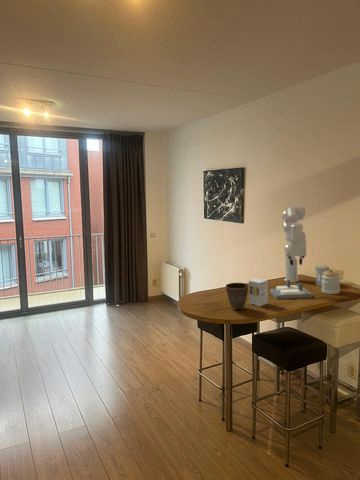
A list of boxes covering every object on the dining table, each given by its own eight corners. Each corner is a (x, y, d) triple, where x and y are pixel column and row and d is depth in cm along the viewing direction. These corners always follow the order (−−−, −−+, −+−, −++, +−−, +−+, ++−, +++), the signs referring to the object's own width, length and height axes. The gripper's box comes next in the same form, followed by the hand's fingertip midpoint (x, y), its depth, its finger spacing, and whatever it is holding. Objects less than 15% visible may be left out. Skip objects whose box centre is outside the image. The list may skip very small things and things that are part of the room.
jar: (323, 288, 277) (323, 266, 275) (341, 290, 270) (342, 268, 268) (319, 293, 267) (319, 269, 265) (337, 295, 259) (338, 271, 257)
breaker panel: (269, 292, 275) (269, 286, 274) (303, 290, 275) (303, 284, 275) (276, 298, 257) (276, 292, 256) (312, 297, 257) (312, 290, 257)
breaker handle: (297, 289, 263) (297, 282, 262) (300, 289, 263) (300, 282, 262) (299, 290, 259) (299, 283, 258) (302, 290, 259) (302, 283, 258)
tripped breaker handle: (286, 285, 272) (286, 279, 272) (288, 285, 272) (288, 279, 272) (287, 287, 268) (287, 280, 268) (290, 287, 268) (290, 280, 268)
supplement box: (248, 304, 249) (248, 280, 246) (256, 300, 255) (256, 277, 252) (260, 306, 241) (259, 282, 239) (268, 303, 247) (268, 280, 245)
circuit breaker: (336, 285, 284) (337, 267, 282) (318, 286, 285) (318, 267, 283) (333, 283, 292) (333, 265, 290) (315, 283, 292) (315, 265, 290)
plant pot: (233, 313, 230) (233, 289, 228) (222, 307, 244) (221, 284, 242) (253, 309, 236) (252, 286, 234) (240, 303, 250) (240, 281, 247)
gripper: (305, 239, 270) (305, 263, 272) (283, 240, 269) (283, 264, 272) (309, 241, 262) (309, 265, 265) (286, 242, 262) (286, 266, 264)
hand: (296, 264), depth 268 cm, fingers open, 5 cm apart
